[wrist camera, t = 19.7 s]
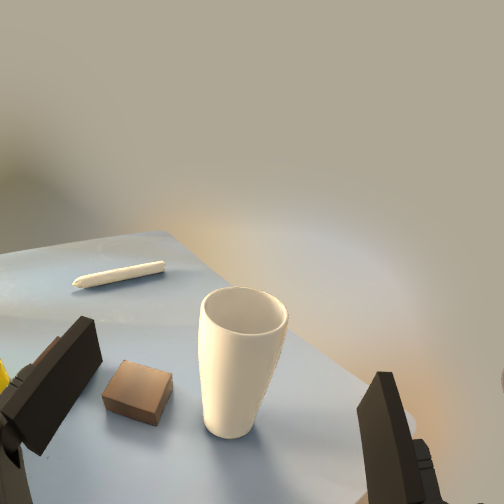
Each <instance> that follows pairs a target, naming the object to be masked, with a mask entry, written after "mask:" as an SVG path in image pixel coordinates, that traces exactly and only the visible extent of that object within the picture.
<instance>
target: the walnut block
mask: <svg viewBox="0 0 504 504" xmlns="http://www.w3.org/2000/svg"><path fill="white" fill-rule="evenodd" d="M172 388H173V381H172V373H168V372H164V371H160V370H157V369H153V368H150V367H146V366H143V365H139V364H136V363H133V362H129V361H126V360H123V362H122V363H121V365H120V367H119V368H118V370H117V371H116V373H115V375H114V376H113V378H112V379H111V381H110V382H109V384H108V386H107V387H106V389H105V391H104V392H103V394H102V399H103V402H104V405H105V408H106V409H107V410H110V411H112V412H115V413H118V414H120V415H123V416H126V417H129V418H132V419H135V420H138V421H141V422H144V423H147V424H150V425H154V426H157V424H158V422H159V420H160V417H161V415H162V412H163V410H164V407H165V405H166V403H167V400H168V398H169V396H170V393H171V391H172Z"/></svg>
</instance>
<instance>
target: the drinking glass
mask: <svg viewBox="0 0 504 504" xmlns="http://www.w3.org/2000/svg"><path fill="white" fill-rule="evenodd" d="M288 316H289V315H288V311H287V309H286V307H285V306H284V305H283V303H282V302H281V301H280V300H278V299H277V298H276V297H274V296H272V295H270V294H268V293H266V292H263V291H261V290H257V289H253V288H248V287H226V288H222V289H218V290H216V291H213V292H212V293H210V294H208V295H207V296H206V297H205V298H204V300H203V302H202V305H201V312H200V320H199V333H198V355H199V368H200V379H201V390H202V401H203V421H204V424H205V426H206V427H207V429H208V430H209V431H210V432H211V433H213V434H214V435H216V436H218V437H221V438H225V439H235V438H239V437H242V436H244V435H245V434H247V433H248V432H249V431H250V430H251V428H252V426H253V424H254V420H255V417H256V414H257V412H258V410H259V407H260V405H261V402H262V400H263V398H264V395H265V393H266V391H267V388H268V386H269V383H270V381H271V379H272V376H273V374H274V371H275V369H276V366H277V363H278V360H279V358H280V354H281V351H282V347H283V344H284V339H285V334H286V329H287V324H288V318H289V317H288Z"/></svg>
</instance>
